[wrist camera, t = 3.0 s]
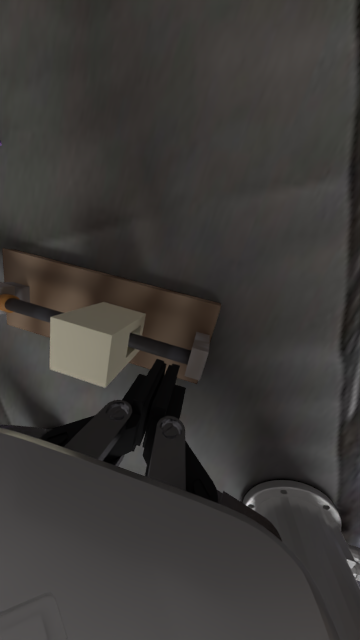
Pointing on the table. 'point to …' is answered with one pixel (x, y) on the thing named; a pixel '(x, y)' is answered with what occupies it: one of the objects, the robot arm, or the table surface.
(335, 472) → the table surface
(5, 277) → the wooden linear slide
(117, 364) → the cream foam block
